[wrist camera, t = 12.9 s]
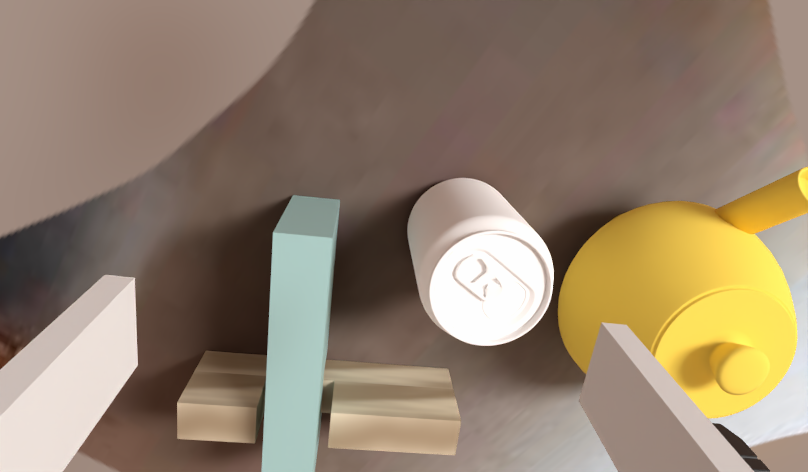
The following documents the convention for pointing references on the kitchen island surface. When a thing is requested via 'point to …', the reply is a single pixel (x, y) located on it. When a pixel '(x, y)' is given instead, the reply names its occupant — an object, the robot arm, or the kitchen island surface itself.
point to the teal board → (298, 332)
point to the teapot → (693, 293)
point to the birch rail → (327, 404)
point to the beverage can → (478, 263)
